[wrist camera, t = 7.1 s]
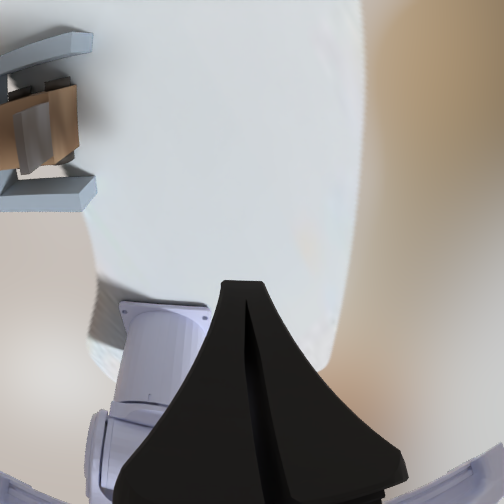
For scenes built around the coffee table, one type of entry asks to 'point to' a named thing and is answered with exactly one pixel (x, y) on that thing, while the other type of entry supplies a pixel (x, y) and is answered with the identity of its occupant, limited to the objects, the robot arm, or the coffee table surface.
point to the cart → (39, 127)
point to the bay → (44, 189)
